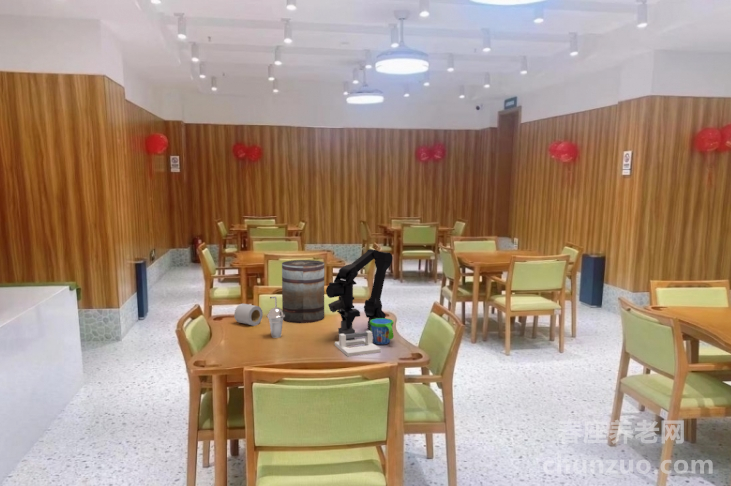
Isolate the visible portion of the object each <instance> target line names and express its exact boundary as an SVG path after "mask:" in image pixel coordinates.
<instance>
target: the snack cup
mask: <svg viewBox="0 0 731 486" xmlns="http://www.w3.org/2000/svg"><path fill="white" fill-rule="evenodd" d="M370 325H371V327H370V330H371V332H372V343H373V344H375V345H387V344H389V343H390V342H391V340H393V339H394V331H393V325H394V320H393V319H390V318H386V317H385V318H376V319H372V320H370Z"/></svg>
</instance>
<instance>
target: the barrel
mask: <svg viewBox="0 0 731 486" xmlns="http://www.w3.org/2000/svg"><path fill="white" fill-rule="evenodd" d="M281 291H282V292H281V294H282V295H281V296H282V298H281V299H282V300H281V304H282V305H281V306H282V307H281V310H282V311H283V313H284V314H285V317H284V318H283V322H284V321H285V322H287V323H292V324H312V323H317V322H321V321H323V320H324V319H325V262H324V261H320V260H315V259H314V260H311V259H298V260H297V259H296V260H287V261H283V262H281Z"/></svg>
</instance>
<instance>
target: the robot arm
mask: <svg viewBox="0 0 731 486" xmlns="http://www.w3.org/2000/svg"><path fill="white" fill-rule="evenodd" d="M393 258H394V257H393V255H392V253H390V252H389V251H388V252H387V251H380V250H377V249H373V248H372V249H371V248H370V249H367V250H366V252H365V253H363V254H362V255H361V256H359V257H358V258H357V259H356V260H354V261H353V262H351V263H350V264H346V265H345V266H342V267H340V268H339V270H338V273H337V275H336V276H335V277H334V280H333V282H328V285H327V287H326V289H325V294H326V296H327V297H328V298H330V299H332V298H338V299H337V300H333V301H332V302H330V303H328V307H329V310H330V312H332V313H336V312H337V313H338V314H339V315H340V317H341V321H345V320H346V325H347V329H350V327H351V325H352V326H353V323H354V320H355V318H356V317H360V316H361V311H360V310H359V309H357V308H355V306H354V300H355V297H354V286H355V285H357V282H356V281H355V278H356V277H357V276H358V274H359V272H360V271H361V270H362V269H363V268H364V267H366V266H367V265H368V264H369V263H371V262H372V261H373V260H374V265H375V268H376V269H375V273H374V274H375V275H374V277H373V279H374V280H373V283H372V288H371V292H370V297H369V298H368V299H365V301H364V306H363V312H364V313H365V318H366V319H367V318H368V321H367V328H366V329H367V331H371V330H370V327H371V325H370V320H372V319H376V318H386V314H385V312H384V311H383V310H382V309H383V303H382V301H381V297H382V292H383V287H384V285H385V284H384V283H385V278H386V273H387V271H388V269H389V268H390V267H391V265H392V263H393Z"/></svg>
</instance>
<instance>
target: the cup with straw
mask: <svg viewBox="0 0 731 486" xmlns="http://www.w3.org/2000/svg"><path fill="white" fill-rule="evenodd" d="M269 298H270V299H274V307H273V308H271V309H270V310H269V311H268V313H267V316H266V317H267V318H268V322H269V327H270V335H271V338H273V339H275V338H276V339H279V338H281V337H282V331H283V330H282V329H283V323H284V320H283V318H284V317H285V314H284V313H283V311H282V308H280V307H277V303H278V301H277V296H269Z"/></svg>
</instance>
